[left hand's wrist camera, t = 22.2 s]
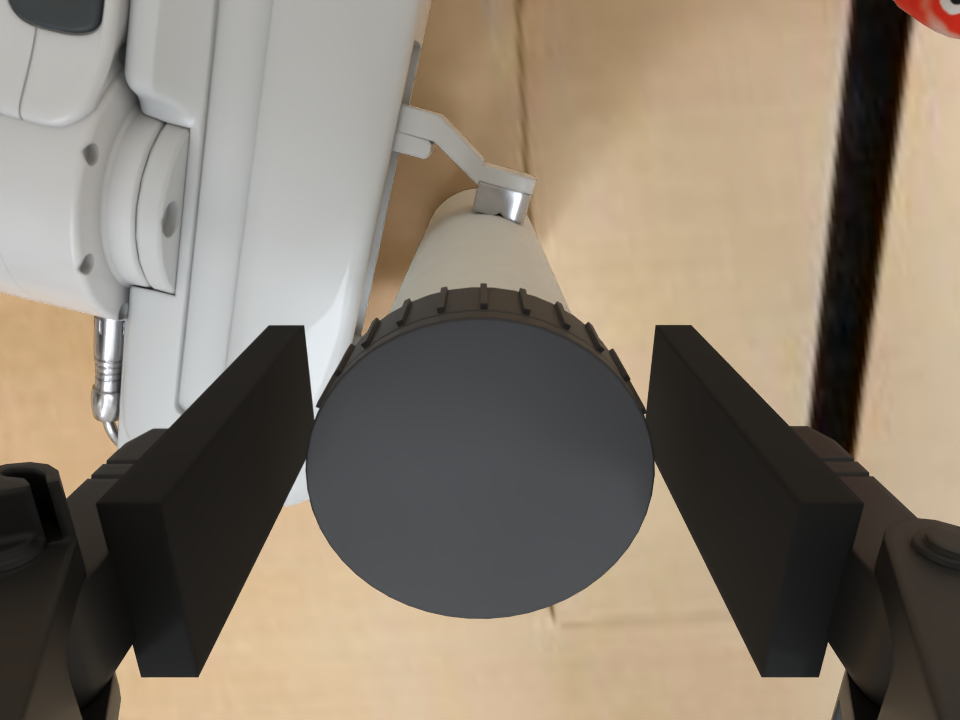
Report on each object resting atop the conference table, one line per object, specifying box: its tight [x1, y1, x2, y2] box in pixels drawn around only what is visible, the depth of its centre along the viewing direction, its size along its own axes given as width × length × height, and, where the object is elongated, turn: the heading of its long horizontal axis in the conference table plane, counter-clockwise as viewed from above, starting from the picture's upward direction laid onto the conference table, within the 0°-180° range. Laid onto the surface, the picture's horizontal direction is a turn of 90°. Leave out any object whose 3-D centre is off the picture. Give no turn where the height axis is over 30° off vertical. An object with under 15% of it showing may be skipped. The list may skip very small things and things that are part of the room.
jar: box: [389, 189, 571, 314], centre depth 20 cm, size 5×5×18 cm
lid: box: [305, 283, 655, 619], centre depth 11 cm, size 6×6×2 cm
